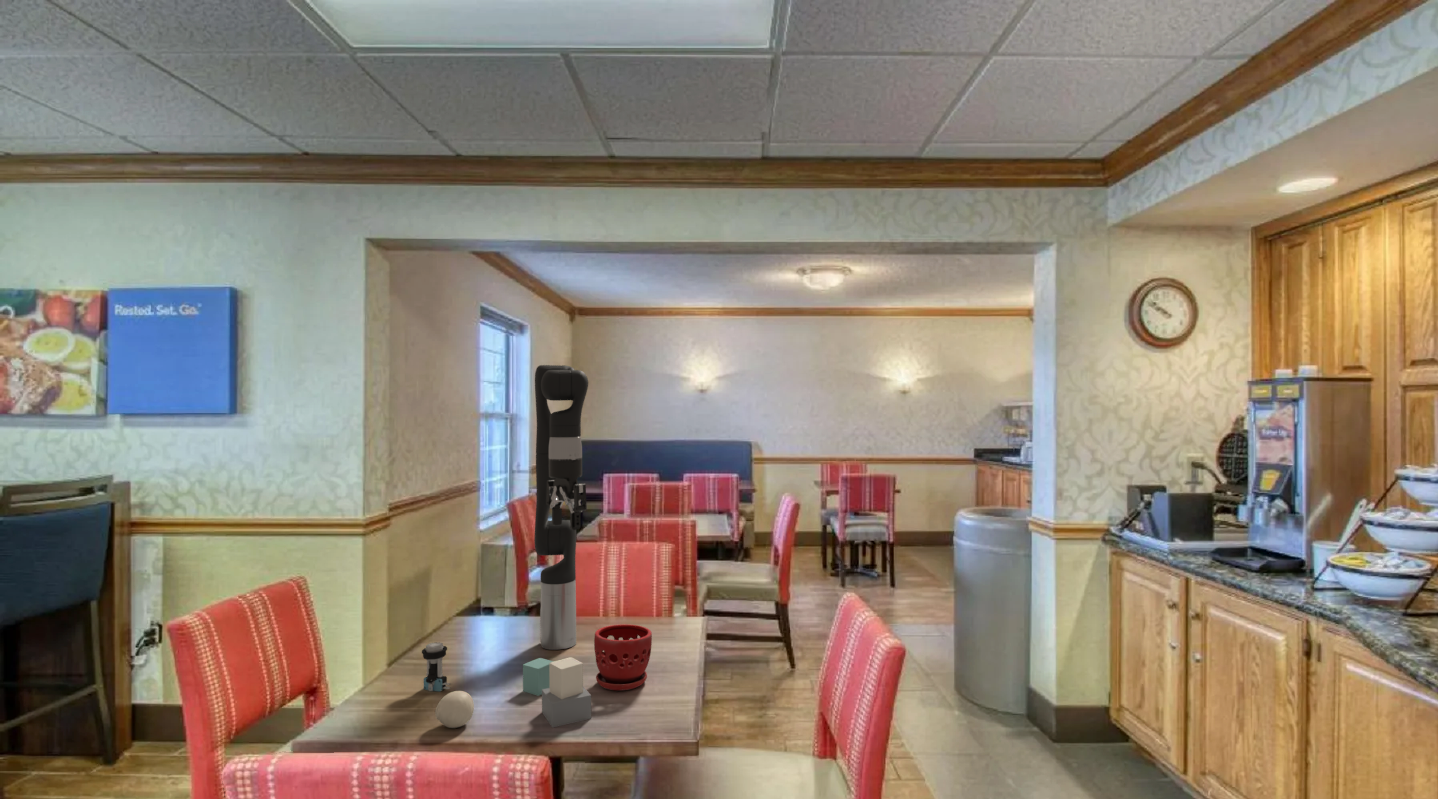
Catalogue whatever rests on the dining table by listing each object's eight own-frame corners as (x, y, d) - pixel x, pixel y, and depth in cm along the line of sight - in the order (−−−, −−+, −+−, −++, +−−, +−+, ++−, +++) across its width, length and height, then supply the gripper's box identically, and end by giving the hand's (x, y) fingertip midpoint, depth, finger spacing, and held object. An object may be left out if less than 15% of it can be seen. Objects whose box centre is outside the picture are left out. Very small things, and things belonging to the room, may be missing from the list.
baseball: (438, 720, 142) (437, 687, 142) (475, 716, 144) (475, 684, 144) (432, 735, 136) (432, 701, 136) (471, 731, 137) (471, 697, 137)
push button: (457, 686, 160) (457, 642, 160) (441, 695, 155) (441, 650, 155) (432, 683, 162) (432, 640, 162) (416, 692, 157) (416, 647, 157)
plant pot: (627, 699, 152) (627, 644, 152) (582, 687, 159) (582, 634, 159) (663, 679, 163) (662, 627, 163) (619, 668, 170) (619, 619, 170)
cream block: (549, 691, 144) (549, 662, 145) (570, 685, 148) (570, 656, 148) (561, 699, 141) (561, 669, 141) (583, 692, 144) (583, 663, 144)
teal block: (523, 691, 157) (522, 664, 157) (540, 683, 161) (539, 657, 161) (538, 696, 154) (538, 668, 154) (555, 688, 158) (555, 661, 158)
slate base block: (542, 713, 146) (541, 689, 146) (579, 705, 150) (579, 681, 150) (552, 728, 139) (552, 703, 139) (591, 719, 143) (591, 695, 143)
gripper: (536, 456, 163) (536, 525, 163) (566, 459, 153) (567, 533, 153) (564, 454, 168) (565, 521, 168) (596, 457, 158) (596, 529, 158)
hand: (566, 527), depth 160 cm, fingers open, 8 cm apart
